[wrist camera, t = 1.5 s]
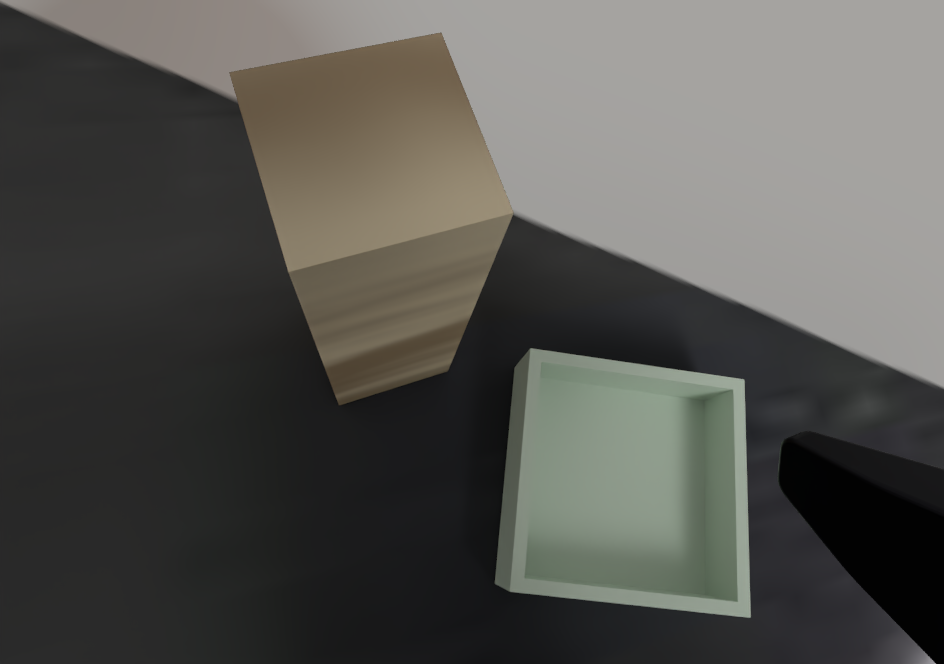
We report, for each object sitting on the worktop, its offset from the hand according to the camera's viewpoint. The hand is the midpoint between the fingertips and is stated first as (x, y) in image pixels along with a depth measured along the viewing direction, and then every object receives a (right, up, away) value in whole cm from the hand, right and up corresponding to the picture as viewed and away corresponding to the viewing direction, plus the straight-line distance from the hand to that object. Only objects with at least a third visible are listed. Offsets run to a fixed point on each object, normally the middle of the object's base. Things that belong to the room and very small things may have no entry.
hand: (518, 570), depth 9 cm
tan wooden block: (-4, +3, +14) cm, 15 cm away
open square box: (+4, -2, +13) cm, 14 cm away
